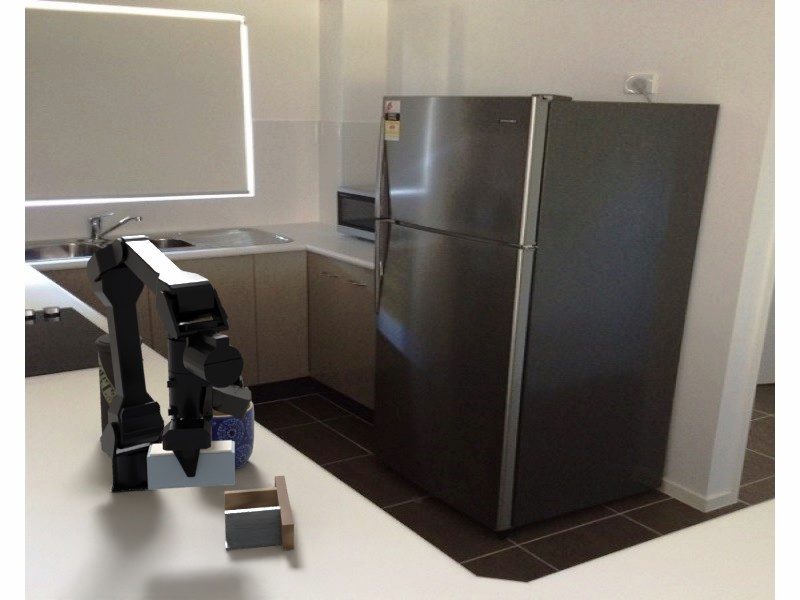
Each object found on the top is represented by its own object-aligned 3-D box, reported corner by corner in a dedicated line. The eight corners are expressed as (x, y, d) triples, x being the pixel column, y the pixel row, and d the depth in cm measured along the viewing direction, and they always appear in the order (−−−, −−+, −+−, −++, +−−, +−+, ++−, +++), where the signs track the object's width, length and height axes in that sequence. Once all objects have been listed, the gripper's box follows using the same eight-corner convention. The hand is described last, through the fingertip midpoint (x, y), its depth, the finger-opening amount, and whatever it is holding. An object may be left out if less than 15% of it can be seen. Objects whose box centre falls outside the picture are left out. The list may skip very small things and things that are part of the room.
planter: (242, 480, 131) (240, 419, 129) (182, 474, 133) (180, 413, 130) (263, 454, 142) (262, 397, 139) (207, 449, 143) (206, 393, 141)
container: (90, 436, 148) (84, 337, 143) (123, 421, 156) (118, 326, 151) (126, 444, 144) (120, 343, 140) (157, 428, 153) (153, 332, 148)
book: (148, 489, 108) (146, 455, 106) (151, 476, 111) (149, 443, 110) (234, 484, 110) (234, 450, 109) (234, 472, 114) (234, 439, 113)
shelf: (225, 556, 108) (225, 530, 107) (224, 502, 123) (224, 480, 122) (293, 549, 110) (293, 524, 109) (284, 497, 125) (284, 475, 124)
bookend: (225, 550, 109) (225, 521, 108) (225, 538, 112) (224, 510, 111) (281, 544, 111) (281, 516, 110) (280, 533, 114) (279, 506, 113)
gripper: (248, 388, 100) (249, 497, 103) (246, 347, 117) (247, 441, 121) (159, 391, 97) (164, 502, 101) (171, 349, 115) (175, 444, 119)
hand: (192, 470), depth 110 cm, fingers closed on book, 4 cm apart
